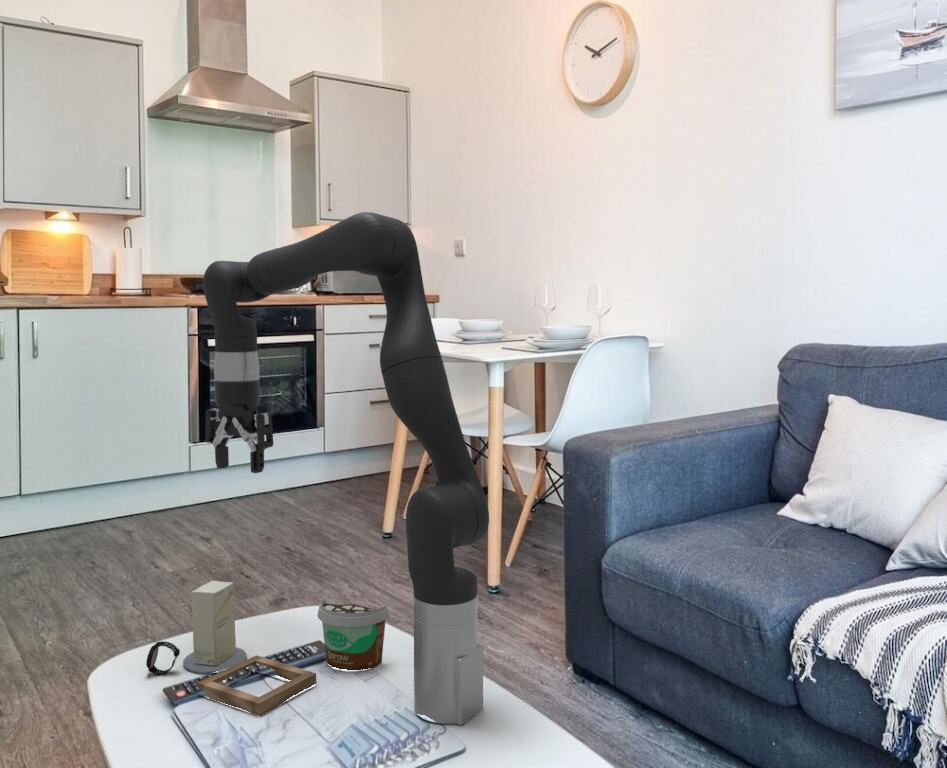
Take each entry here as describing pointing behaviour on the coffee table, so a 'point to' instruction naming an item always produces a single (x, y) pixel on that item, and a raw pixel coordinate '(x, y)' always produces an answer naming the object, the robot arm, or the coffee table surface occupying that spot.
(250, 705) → the frame
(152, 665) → the smartwatch
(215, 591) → the skincare box
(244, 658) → the slate coaster
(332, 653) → the food container
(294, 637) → the coffee table surface
